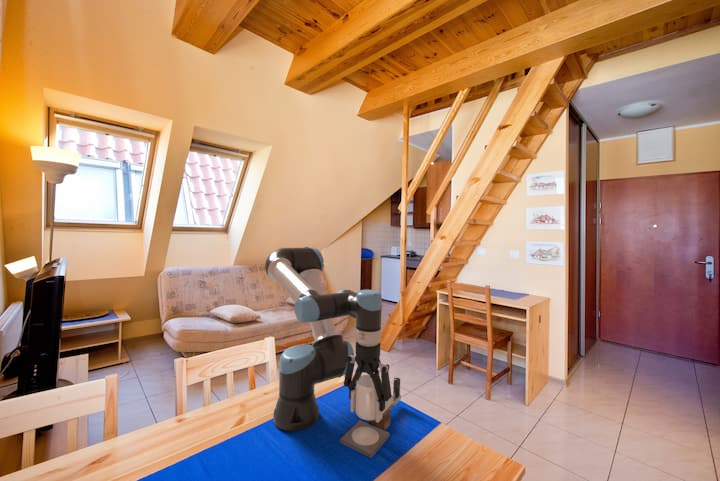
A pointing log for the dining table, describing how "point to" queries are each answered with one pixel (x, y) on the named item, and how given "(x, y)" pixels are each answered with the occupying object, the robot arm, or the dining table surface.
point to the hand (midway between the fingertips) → (366, 414)
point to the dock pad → (365, 438)
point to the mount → (382, 421)
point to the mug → (366, 398)
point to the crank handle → (393, 396)
